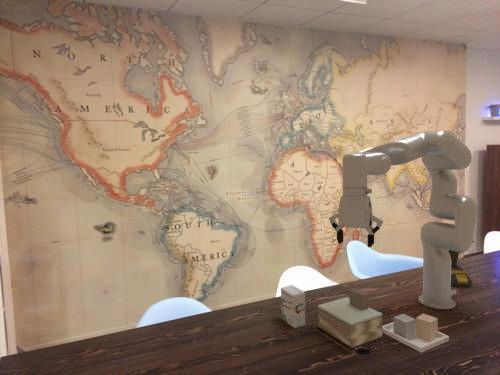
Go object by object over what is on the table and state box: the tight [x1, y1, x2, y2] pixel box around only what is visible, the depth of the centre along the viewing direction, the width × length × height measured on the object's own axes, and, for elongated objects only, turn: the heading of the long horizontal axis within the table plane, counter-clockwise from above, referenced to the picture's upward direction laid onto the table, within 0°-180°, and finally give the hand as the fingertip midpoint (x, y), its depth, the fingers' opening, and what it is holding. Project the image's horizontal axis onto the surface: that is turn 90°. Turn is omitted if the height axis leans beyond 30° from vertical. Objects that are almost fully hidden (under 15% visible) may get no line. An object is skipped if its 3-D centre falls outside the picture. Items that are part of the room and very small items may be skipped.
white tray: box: [382, 321, 450, 354], centre depth 111 cm, size 13×15×2 cm
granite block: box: [393, 313, 416, 340], centre depth 110 cm, size 4×4×6 cm
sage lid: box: [317, 287, 383, 326], centre depth 114 cm, size 13×16×6 cm
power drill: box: [448, 240, 475, 288], centre depth 154 cm, size 20×9×25 cm, turn 179°
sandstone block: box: [415, 313, 439, 342], centre depth 110 cm, size 4×4×6 cm
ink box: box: [280, 284, 306, 329], centre depth 124 cm, size 8×5×12 cm, turn 27°
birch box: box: [317, 307, 383, 348], centre depth 115 cm, size 13×16×7 cm
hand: (355, 244), depth 114 cm, fingers open, 9 cm apart
